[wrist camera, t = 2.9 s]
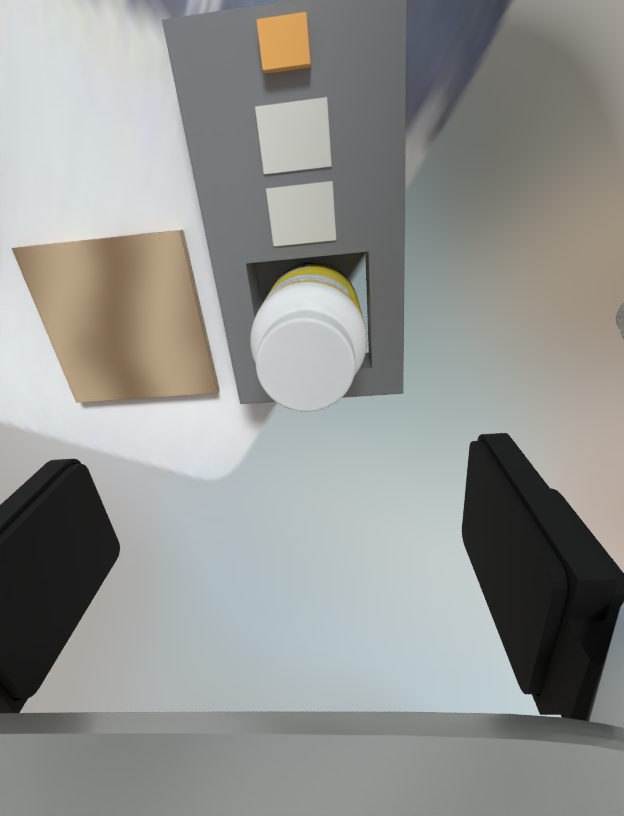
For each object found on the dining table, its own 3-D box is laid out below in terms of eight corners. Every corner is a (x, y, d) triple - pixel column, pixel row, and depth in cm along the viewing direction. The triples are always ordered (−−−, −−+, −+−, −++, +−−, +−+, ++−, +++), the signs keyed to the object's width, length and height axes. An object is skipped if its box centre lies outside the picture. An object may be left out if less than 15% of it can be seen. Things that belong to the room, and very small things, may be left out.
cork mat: (182, 229, 23) (179, 230, 22) (219, 389, 27) (216, 392, 27) (18, 247, 24) (11, 248, 23) (81, 398, 28) (76, 402, 28)
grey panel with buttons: (397, 7, 18) (409, -26, 15) (397, 376, 26) (404, 397, 24) (182, 40, 19) (156, 14, 16) (247, 387, 27) (238, 408, 24)
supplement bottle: (341, 359, 26) (345, 442, 17) (260, 334, 25) (222, 406, 17) (372, 277, 23) (394, 326, 15) (283, 247, 23) (252, 279, 14)
